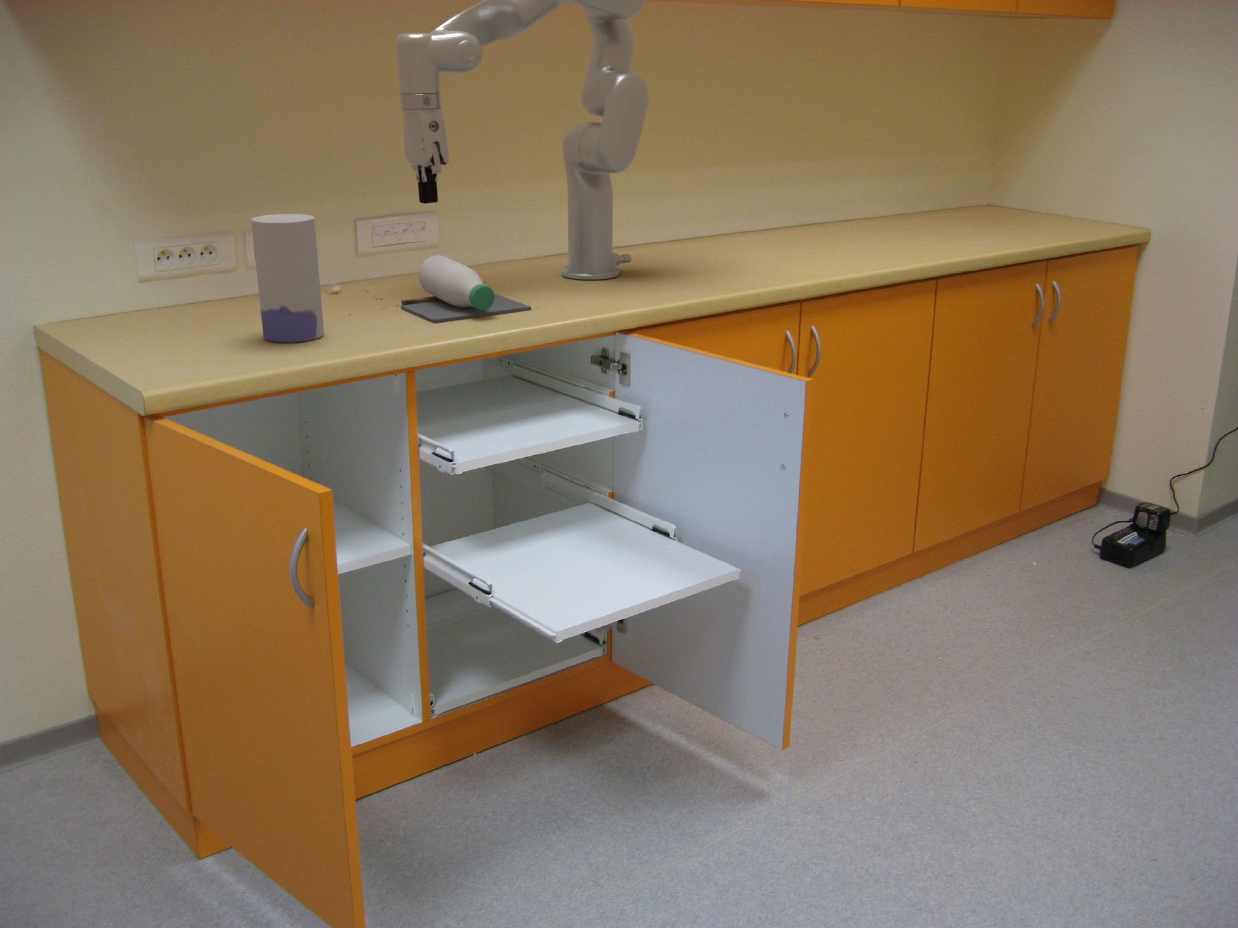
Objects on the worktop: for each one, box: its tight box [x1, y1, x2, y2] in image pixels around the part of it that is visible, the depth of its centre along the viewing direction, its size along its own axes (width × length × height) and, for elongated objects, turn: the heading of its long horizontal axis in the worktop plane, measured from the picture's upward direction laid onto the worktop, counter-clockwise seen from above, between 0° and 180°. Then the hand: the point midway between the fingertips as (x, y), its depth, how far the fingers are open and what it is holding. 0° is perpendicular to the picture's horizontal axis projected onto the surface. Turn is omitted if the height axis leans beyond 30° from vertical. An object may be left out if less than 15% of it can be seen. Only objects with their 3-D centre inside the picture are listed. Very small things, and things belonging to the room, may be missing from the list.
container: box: [250, 213, 325, 343], centre depth 192 cm, size 10×10×20 cm
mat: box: [400, 293, 532, 324], centre depth 216 cm, size 20×14×1 cm
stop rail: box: [401, 295, 442, 306], centre depth 222 cm, size 18×1×1 cm, turn 124°
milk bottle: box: [418, 254, 496, 310], centre depth 215 cm, size 8×8×20 cm
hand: (428, 202), depth 222 cm, fingers closed
